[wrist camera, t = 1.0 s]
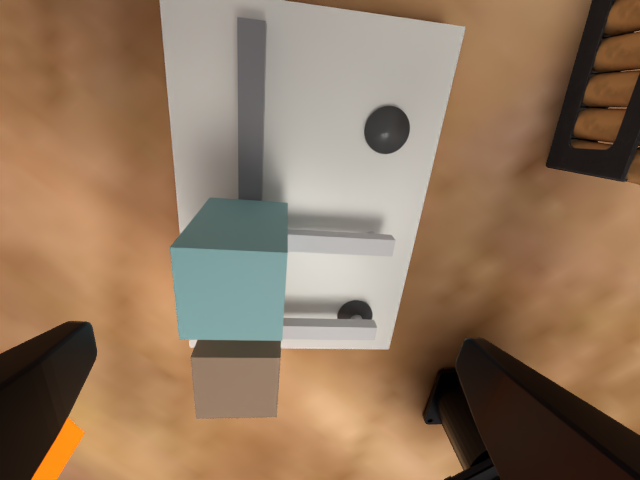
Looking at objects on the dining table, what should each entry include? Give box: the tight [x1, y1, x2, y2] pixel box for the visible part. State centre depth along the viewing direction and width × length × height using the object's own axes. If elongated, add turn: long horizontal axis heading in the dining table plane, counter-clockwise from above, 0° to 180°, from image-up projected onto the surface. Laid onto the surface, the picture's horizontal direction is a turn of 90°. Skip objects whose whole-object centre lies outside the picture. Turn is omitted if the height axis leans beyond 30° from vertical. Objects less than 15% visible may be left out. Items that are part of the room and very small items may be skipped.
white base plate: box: [159, 0, 466, 419], centre depth 16 cm, size 20×14×8 cm
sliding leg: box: [170, 198, 396, 341], centre depth 15 cm, size 4×10×7 cm, turn 84°
